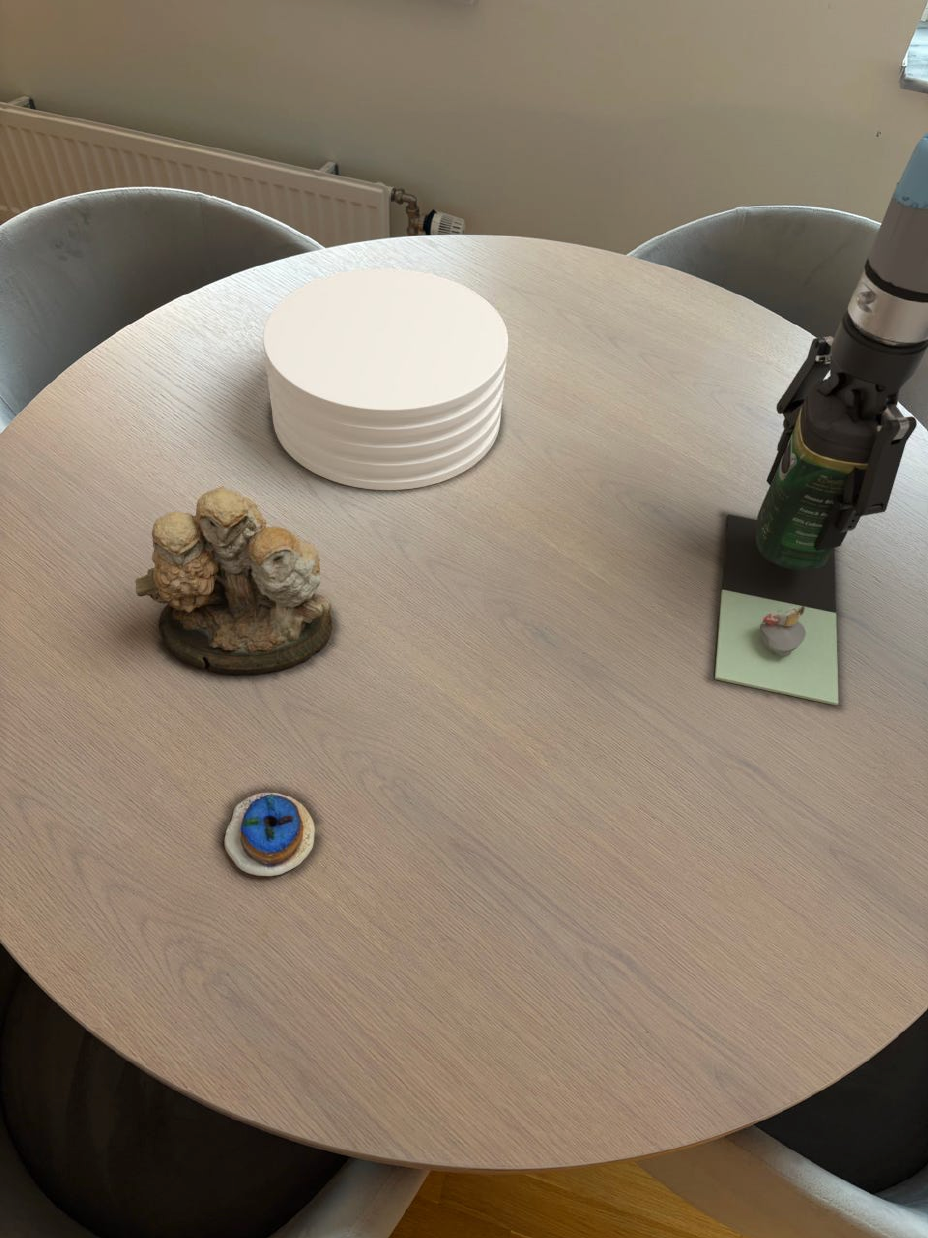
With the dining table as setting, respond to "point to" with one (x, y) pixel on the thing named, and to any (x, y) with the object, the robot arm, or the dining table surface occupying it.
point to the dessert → (269, 834)
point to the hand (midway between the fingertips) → (802, 512)
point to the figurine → (783, 631)
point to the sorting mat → (767, 589)
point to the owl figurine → (235, 588)
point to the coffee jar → (811, 480)
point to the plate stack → (385, 377)
